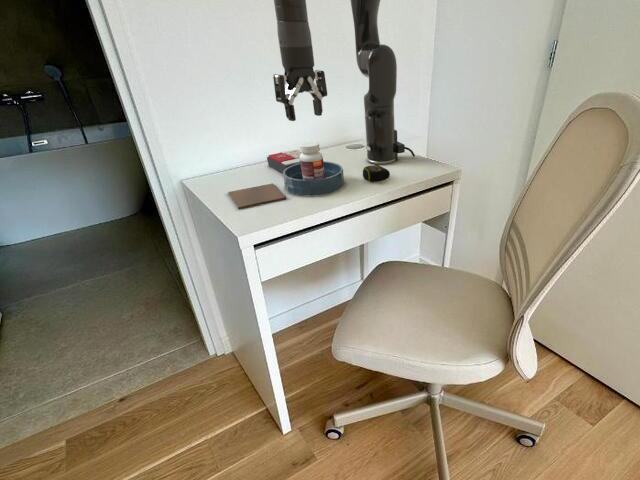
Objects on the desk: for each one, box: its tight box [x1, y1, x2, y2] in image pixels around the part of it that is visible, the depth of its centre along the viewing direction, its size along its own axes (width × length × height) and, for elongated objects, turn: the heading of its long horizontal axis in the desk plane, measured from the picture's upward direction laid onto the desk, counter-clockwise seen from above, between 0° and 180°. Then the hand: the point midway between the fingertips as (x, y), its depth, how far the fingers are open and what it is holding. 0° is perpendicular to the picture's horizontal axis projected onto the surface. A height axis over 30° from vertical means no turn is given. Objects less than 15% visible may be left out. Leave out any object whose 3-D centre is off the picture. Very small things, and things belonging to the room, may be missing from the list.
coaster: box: [227, 182, 287, 210], centre depth 103 cm, size 12×12×1 cm
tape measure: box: [362, 164, 391, 183], centre depth 112 cm, size 7×7×4 cm
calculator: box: [266, 149, 302, 175], centre depth 121 cm, size 11×4×15 cm
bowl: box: [282, 160, 345, 197], centre depth 108 cm, size 16×16×4 cm
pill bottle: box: [299, 141, 325, 180], centre depth 106 cm, size 6×6×11 cm
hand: (305, 117), depth 100 cm, fingers open, 8 cm apart
